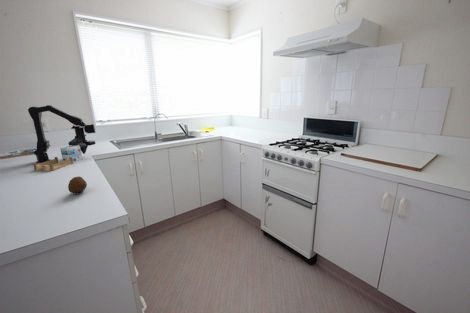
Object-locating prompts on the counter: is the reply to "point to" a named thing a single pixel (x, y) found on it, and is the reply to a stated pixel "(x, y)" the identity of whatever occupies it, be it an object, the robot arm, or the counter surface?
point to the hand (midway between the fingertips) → (84, 153)
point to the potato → (77, 185)
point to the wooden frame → (52, 165)
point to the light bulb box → (71, 152)
